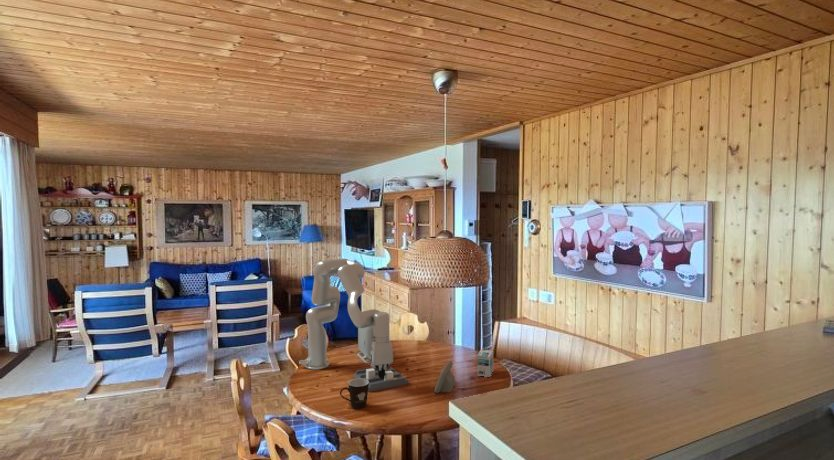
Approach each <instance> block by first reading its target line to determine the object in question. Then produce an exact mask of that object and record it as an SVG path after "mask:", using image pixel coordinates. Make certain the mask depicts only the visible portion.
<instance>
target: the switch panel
mask: <svg viewBox="0 0 834 460" xmlns="http://www.w3.org/2000/svg"><path fill="white" fill-rule="evenodd" d="M390 365H391V364H390ZM390 365H388V366H387V370H385V372H386V371H392V372H393V379H392V380H387V381H385V380H384V379H380V378H379V377H378V369H377V368H376V367H370V368H368V369H371V368H373V369H374V370H375V378H370V379H367V378H366V369H367V368H364V369H363V368H362V369H357V370H356V371H355V373H353V378H354V379H366V380H368V381H369V386H368V393H369V392H375V391H380V390H381V391H382V390H384V389H390V388H394V387H400V386H405V385H408V384H409V380H408V379H407V378H406V376H403V374H402V373H400V372H398V371H397V370H396V369H395V368H393V367H392V366H390Z"/></svg>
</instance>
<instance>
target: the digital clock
mask: <svg viewBox="0 0 834 460" xmlns="http://www.w3.org/2000/svg"><path fill="white" fill-rule="evenodd" d="M453 364H454V363H453V361H451V360H448V361H447V362H446V364H445V365H444V367H443V368H442V369H441V371H440V373H439V375H438V378H437V381H436V384H435V387H434V389H433V391H434V393H435V394H440V392H441V391H442V392H443V393H449V392H450V393H451V392H452V390H453V388H454V387H455V376H454V375H453V374H452V372H451V369H452V366H453Z"/></svg>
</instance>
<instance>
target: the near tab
mask: <svg viewBox="0 0 834 460" xmlns="http://www.w3.org/2000/svg"><path fill="white" fill-rule="evenodd" d="M392 379H393V372H392V371H386V372H385V376H384V380H385V381H387V380H392Z"/></svg>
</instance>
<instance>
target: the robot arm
mask: <svg viewBox="0 0 834 460" xmlns="http://www.w3.org/2000/svg"><path fill="white" fill-rule="evenodd" d="M365 273H366V272H365V269H364V267H363V265H362V264H360V263H359V262H356V261H352V260H350V259H346V258H335V259H326V260H321V261H318V262H317V263H316V264H315V265H314V269H313V275H314V276H313V284H312V285H313V286H312V293H311V303H312V305H314V306H315V307H311V308H309V309H308V310H307V311H306V313H305V320H306V324H307V325H306V326H307V353H308V355H307V356H306V358H305V359H300V360H299V361H298V363H299V365H303V366H305V368H306V369H308V370H313V371H315V370H322V369H325V368H328V367H329V366H330V361H329V360H328V359H327V330H326V329H325V327H324V324H327V323H331V322H333V321H335V320H336V319H337V318H338V314H339V313H338V312H339V307H340V301H341V292H340V290H339V288H338V286H335V285H331V278H330V277H334V276H336V277H338V279H339V280H340V282H341V284H342V287H343V288H344V290H345V291H346V292H345V293H346V294H347V297H348V299H347V313H348V316H349V317H350V320H351V322H352V323H353V325H354V326H355V327H356V328H357V329H358V328H365V327H369V326H373V337H372V338H371V341H373V342H372V346H371V354H370V359H369V362H370V361H371V363H370V364H369V365H370V368H374V367H376V368H377V369H378V377H379V378H380V379H384V376H385V370H386V368H387V366H388V365H392V364H393V362H394V350H393V345H392V341H391V340H390V313H388V312H386V311H380V310H378V309H373V308H371V309H368V310H364V311H363V310H362V311H361V309H360V307H359V305H358V298H359V297H360V296H361V295H362V294H363V293H364V292H365V287H364V286H363V284H362V281H361V280H362V279H363V278H364V277H365ZM381 365H382V368H381Z"/></svg>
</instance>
